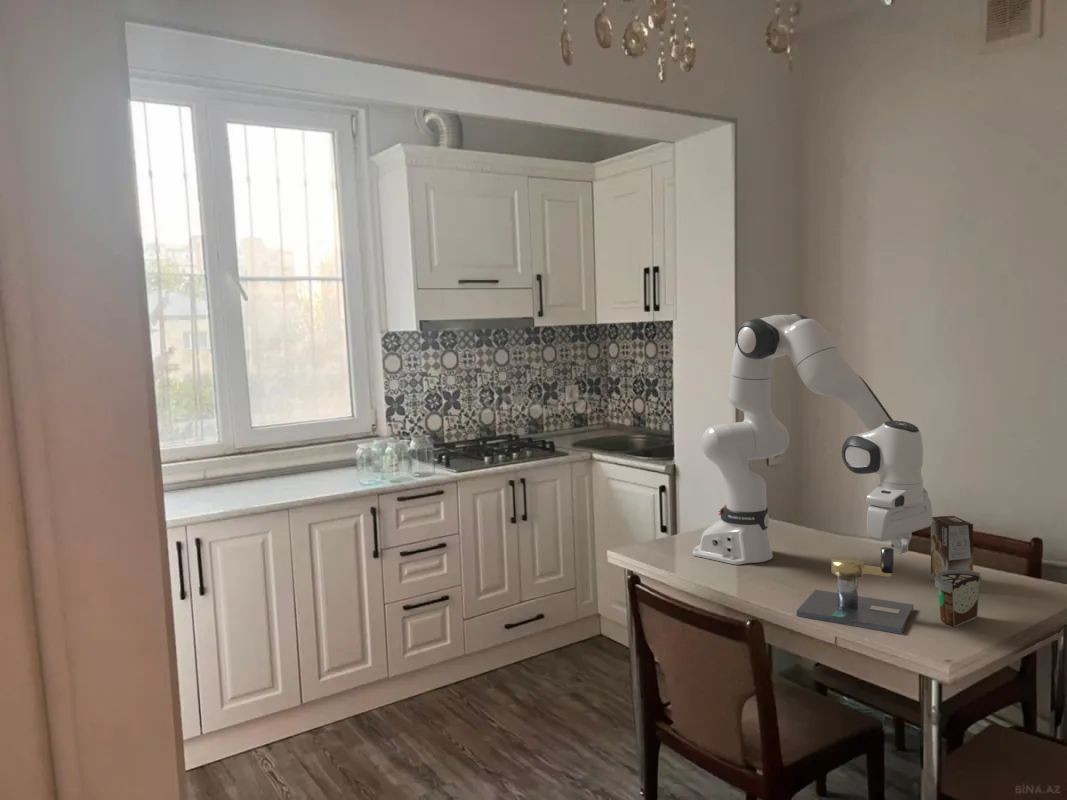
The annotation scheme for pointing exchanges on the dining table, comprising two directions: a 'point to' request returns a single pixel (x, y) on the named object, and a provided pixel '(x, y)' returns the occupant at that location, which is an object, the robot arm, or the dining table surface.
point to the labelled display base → (856, 608)
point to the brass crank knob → (856, 566)
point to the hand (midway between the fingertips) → (900, 552)
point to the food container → (958, 596)
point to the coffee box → (951, 545)
